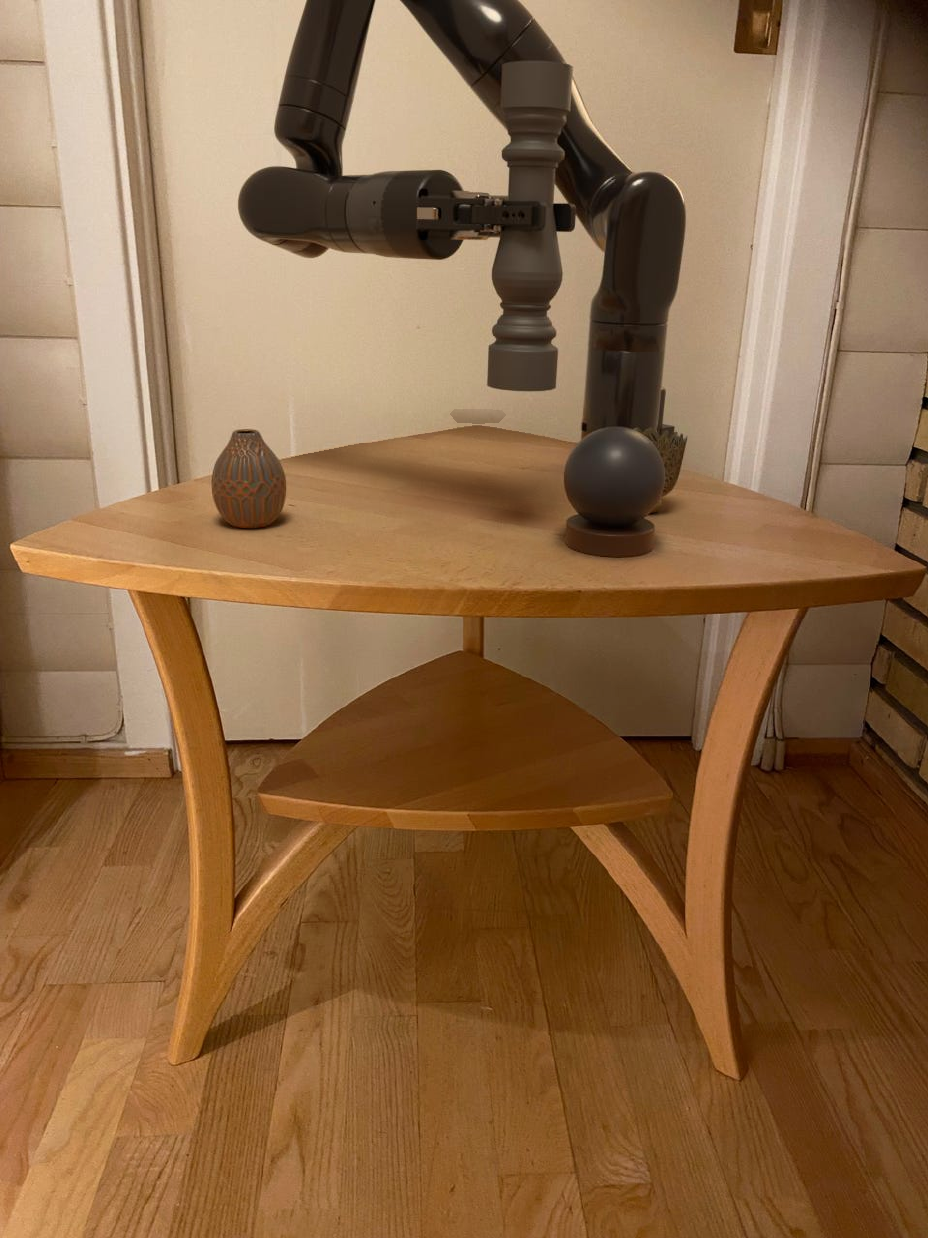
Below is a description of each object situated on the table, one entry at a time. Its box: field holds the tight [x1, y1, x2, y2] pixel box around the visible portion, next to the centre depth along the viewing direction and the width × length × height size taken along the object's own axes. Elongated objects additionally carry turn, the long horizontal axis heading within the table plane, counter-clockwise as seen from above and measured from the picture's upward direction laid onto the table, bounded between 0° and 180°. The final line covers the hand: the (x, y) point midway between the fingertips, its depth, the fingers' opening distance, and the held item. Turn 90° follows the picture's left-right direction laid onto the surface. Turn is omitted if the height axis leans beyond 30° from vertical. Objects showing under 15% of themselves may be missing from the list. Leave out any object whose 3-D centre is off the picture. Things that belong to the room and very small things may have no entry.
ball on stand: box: [563, 427, 665, 558], centre depth 86 cm, size 9×9×11 cm
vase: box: [210, 428, 287, 529], centre depth 90 cm, size 7×7×9 cm
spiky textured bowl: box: [633, 427, 688, 514], centre depth 98 cm, size 8×7×8 cm
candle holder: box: [486, 61, 574, 392], centre depth 81 cm, size 6×6×25 cm
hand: (557, 216), depth 79 cm, fingers closed on candle holder, 3 cm apart
